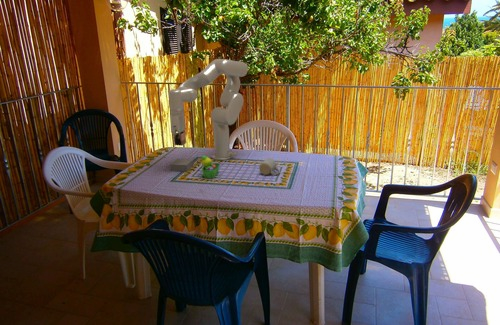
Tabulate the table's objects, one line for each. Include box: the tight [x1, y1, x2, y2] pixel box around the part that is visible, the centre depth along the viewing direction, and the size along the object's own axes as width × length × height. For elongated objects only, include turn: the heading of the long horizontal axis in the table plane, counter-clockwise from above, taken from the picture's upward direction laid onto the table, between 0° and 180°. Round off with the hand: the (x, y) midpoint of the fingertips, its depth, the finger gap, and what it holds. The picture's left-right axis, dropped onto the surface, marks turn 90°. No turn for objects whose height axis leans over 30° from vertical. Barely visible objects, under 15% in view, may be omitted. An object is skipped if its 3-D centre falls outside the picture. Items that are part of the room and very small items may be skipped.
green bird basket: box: [200, 155, 221, 179], centre depth 206 cm, size 11×9×11 cm
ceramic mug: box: [258, 157, 281, 176], centre depth 206 cm, size 11×8×8 cm
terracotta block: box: [173, 132, 187, 146], centre depth 214 cm, size 5×5×6 cm
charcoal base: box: [169, 158, 194, 173], centre depth 219 cm, size 10×10×4 cm
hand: (180, 143), depth 214 cm, fingers closed on terracotta block, 5 cm apart
